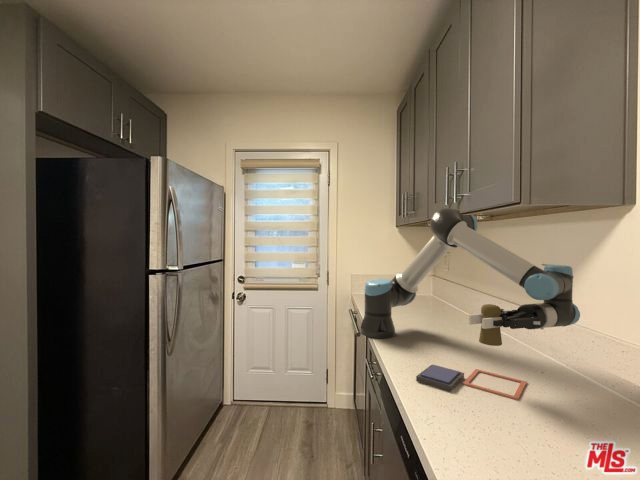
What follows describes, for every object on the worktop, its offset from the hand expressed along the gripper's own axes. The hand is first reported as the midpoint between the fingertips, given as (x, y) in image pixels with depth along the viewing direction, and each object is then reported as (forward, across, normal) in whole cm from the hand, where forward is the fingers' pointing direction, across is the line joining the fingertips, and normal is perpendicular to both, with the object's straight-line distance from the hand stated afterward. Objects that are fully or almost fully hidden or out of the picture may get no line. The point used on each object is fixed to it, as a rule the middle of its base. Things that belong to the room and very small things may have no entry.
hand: (476, 321), depth 95 cm
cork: (-5, 0, -7) cm, 9 cm away
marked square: (-7, 0, -19) cm, 20 cm away
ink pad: (+7, +7, -18) cm, 21 cm away
